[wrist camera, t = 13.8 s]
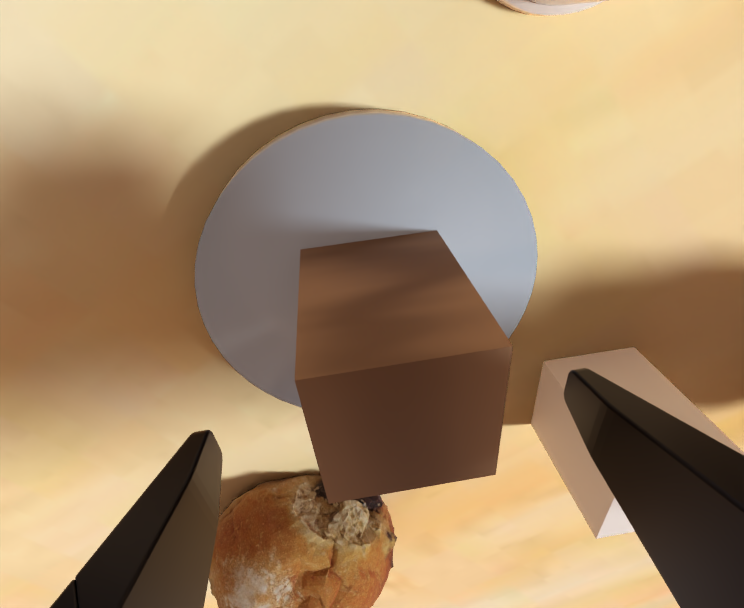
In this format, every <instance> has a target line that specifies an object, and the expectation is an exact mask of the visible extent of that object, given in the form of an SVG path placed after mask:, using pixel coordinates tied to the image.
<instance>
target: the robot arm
mask: <svg viewBox="0 0 744 608" xmlns="http://www.w3.org/2000/svg"><path fill="white" fill-rule="evenodd" d="M564 400H565V402H566V405H567V407H568V409H569V411H570V413H571V416H572V418H573V420H574V422H575V424H576V426H577V429H578V431H579V433H580V435H581V437H582V439H583V442H584V444H585V446H586V448H587V450H588V452H589V454H590V456H591V458H592V460H593V461H594V463H595V465H596V467H597V468H598V470H599V472H600V473H601V475H602V477H603V478H604V480H605V482H606V483H607V485H608V487H609V488H610V490H611V492H612V494H613V495H614V497H615V499H616V500H617V502H618V504H619V505H620V507H621V509H622V510H623V512H624V514H625V515H626V517H627V519H628V520H629V522H630V524H631V525H632V527H633V529H634V531H635V532H636V534H637V536H638V537H639V539H640V541H641V542H642V544H643V546H644V547H645V549H646V551H647V552H648V554H649V556H650V557H651V559H652V561H653V562H654V564H655V566H656V568H657V569H658V571H659V573H660V574H661V576H662V578H663V579H664V581H665V583H666V584H667V586H668V588H669V589H670V591H671V593H672V594H673V596H674V598H675V599H676V601H677V603H678V604H679V606H680V608H744V455H742V454H741V453H739V452H737V451H735V450H733V449H732V448H730V447H728V446H726V445H724V444H723V443H721V442H719V441H717V440H715V439H714V438H712V437H710V436H708V435H707V434H705V433H703V432H701V431H699V430H698V429H696V428H694V427H692V426H690V425H689V424H687V423H685V422H683V421H681V420H680V419H678V418H676V417H674V416H672V415H671V414H669V413H667V412H665V411H664V410H662V409H660V408H658V407H656V406H655V405H653V404H651V403H649V402H647V401H646V400H644V399H642V398H640V397H638V396H637V395H635V394H633V393H631V392H629V391H628V390H626V389H624V388H622V387H620V386H619V385H617V384H615V383H613V382H612V381H610V380H608V379H606V378H604V377H603V376H601V375H599V374H597V373H595V372H594V371H592V370H590V369H587V368H580V369H574V370H571V371H570V372H569V373H568V377H567V381H566V385H565V389H564ZM221 474H222V452H221V449H220V447H219V445H218V443H217V441H216V439H215V437H214V435H213V433H212V432H211V431H210V430H204V431H198V432H194V433H192V434H191V435H190V436H189V437H188V439H187V440H186V441H185V442H184V443H183V445H182V446H181V447H180V448H179V450H178V451H177V452H176V453H175V455H174V456H173V457H172V458H171V459H170V461H169V462H168V463H167V464H166V466H165V467H164V468H163V469H162V471H161V472H160V473H159V474H158V475H157V477H156V478H155V479H154V480H153V482H152V483H151V484H150V485H149V487H148V488H147V489H146V490H145V491H144V493H143V494H142V495H141V496H140V498H139V499H138V500H137V501H136V503H135V504H134V505H133V506H132V507H131V509H130V510H129V511H128V512H127V514H126V515H125V516H124V517H123V519H122V520H121V521H120V522H119V524H118V525H117V526H116V527H115V528H114V530H113V531H112V532H111V533H110V535H109V536H108V537H107V538H106V540H105V541H104V542H103V543H102V544H101V546H100V547H99V548H98V549H97V551H96V552H95V553H94V554H93V556H92V557H91V558H90V559H89V560H88V562H87V563H86V564H85V565H84V567H83V568H82V569H81V570H80V572H79V573H78V574H77V575H76V577H75V580H72V581H71V582H70V584H69V585H68V586H67V587H66V589H65V590H64V591H63V592H62V594H61V595H60V596H59V597H58V598H57V600H56V601H55V602H54V603H53V604H52V606H51V607H50V608H203V607H204V602H205V596H206V590H207V585H208V579H209V573H210V568H211V562H212V556H213V550H214V545H215V539H216V533H217V527H218V518H219V505H220V489H221Z"/></svg>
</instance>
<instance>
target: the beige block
mask: <svg viewBox="0 0 744 608" xmlns="http://www.w3.org/2000/svg"><path fill="white" fill-rule="evenodd" d="M580 368H587V369H590V370H592V371H594V372H595V373H597V374H599V375H601V376H603V377H604V378H606V379H608V380H610V381H612V382H613V383H615V384H617V385H619V386H620V387H622V388H624V389H626V390H628V391H629V392H631V393H633V394H635V395H637V396H638V397H640V398H642V399H644V400H646V401H647V402H649V403H651V404H653V405H655V406H656V407H658V408H660V409H662V410H664V411H665V412H667V413H669V414H671V415H672V416H674V417H676V418H678V419H680V420H681V421H683V422H685V423H687V424H689V425H690V426H692V427H694V428H696V429H698V430H699V431H701V432H703V433H705V434H707V435H708V436H710V437H712V438H714V439H715V440H717V441H719V442H721V443H723V444H724V445H726V446H728V447H730V448H732V449H733V450H735V451H737V452H739V453H741V454H742V455H744V452H743V451H742V450H741V449H740V448H739V447H738V446H737V445H735V444H734V443H733V442H732V441H731V440H730V439H729V438H728V437H727V436H726V435H725V434H724V433H723V432H722V431H721V430H720V429H719V428H718V427H717V426H716V425H715V424H714V423H713V422H712V421H711V420H709V419H708V418H707V417H706V416H705V415H704V414H703V413H702V412H701V411H700V410H699V409H698V408H697V407H696V406H695V405H694V404H693V403H692V402H691V401H690V400H689V399H688V398H687V397H686V396H685V395H684V394H682V393H681V392H680V391H679V390H678V389H677V388H676V387H675V386H674V385H673V384H672V383H671V382H670V381H669V380H668V379H667V378H666V377H665V376H664V375H663V374H662V373H661V372H660V371H659V370H658V369H656V368H655V367H654V366H653V365H652V364H651V363H650V362H649V361H648V360H647V359H646V358H645V357H644V356H643V355H642V354H641V353H640V352H639V351H638V350H637V349H636V348H635V347H630V348H624V349H618V350H611V351H605V352H599V353H592V354H586V355H580V356H573V357H567V358H561V359H554V360H548V361H543V366H542V371H541V376H540V381H539V386H538V391H537V396H536V401H535V406H534V411H533V416H532V421H531V425H532V427H533V429H534V430H535V432H536V434H537V436H538V437H539V439H540V441H541V443H542V444H543V446H544V448H545V450H546V451H547V453H548V455H549V457H550V458H551V460H552V462H553V464H554V465H555V467H556V469H557V471H558V472H559V474H560V476H561V478H562V480H563V481H564V483H565V485H566V487H567V488H568V490H569V492H570V494H571V495H572V497H573V499H574V501H575V502H576V504H577V506H578V508H579V509H580V511H581V513H582V515H583V516H584V518H585V520H586V522H587V524H588V525H589V527H590V529H591V531H592V532H593V534H594V536H595V538H596V539H597V538H602V537H608V536H613V535H619V534H624V533H629V532H635V531H634V529H633V527H632V525H631V524H630V522H629V520H628V519H627V517H626V515H625V514H624V512H623V510H622V509H621V507H620V505H619V504H618V502H617V500H616V499H615V497H614V495H613V494H612V492H611V490H610V488H609V487H608V485H607V483H606V482H605V480H604V478H603V477H602V475H601V473H600V472H599V470H598V468H597V467H596V465H595V463H594V461H593V460H592V458H591V456H590V454H589V452H588V450H587V448H586V446H585V444H584V442H583V439H582V437H581V435H580V433H579V431H578V429H577V426H576V424H575V422H574V420H573V418H572V416H571V413H570V411H569V409H568V407H567V405H566V402H565V400H564V389H565V385H566V381H567V377H568V373H569V372H570V371H571V370H574V369H580Z"/></svg>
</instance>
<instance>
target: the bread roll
mask: <svg viewBox="0 0 744 608" xmlns="http://www.w3.org/2000/svg"><path fill="white" fill-rule="evenodd" d="M396 539H397V537H396V536H395V535H394V527H393V525H392V521H391V517H390V514H389V512H388V510H387V506H386V505H385V504H384V502H383V501H382V499H381V497H380V495H376V496H370V497H364V498H359V499H353V500H347V501H342V502H336V503H330V504H329V503H328V499H327V496H326V492H325V488H324V485H323V481H322V478H321V475H301V476H296V477H292V478H288V479H282V480H273V481H267V482H264V483H261V484H258V485H257V487H256V488H254V489H252V490H250V491H248V492H246V493H244V494H243V495H242V496H240V497H238V498H236V499H234V500H232V503H231V504H230V506H229V507H228V508H227V509H226V510H225V511H224V512H223V513H222V514H221V516H220V517H219V519H218V527H217V533H216V539H215V545H214V550H213V556H212V562H211V568H210V573H209V581H210V584H211V590H212V591H211V594H213V595H214V596H215V598H216V600H217V604H218V607H219V608H370V607H371V606H373V604H374V602H375V601H376V600H377V598H378V597H379V595H380V594H381V591H382V589H383V587H384V585H385V582H386V580H387V578H388V574H389V571H390V569H391V568H392V567H393V547H394V545H395V541H396Z"/></svg>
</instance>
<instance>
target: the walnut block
mask: <svg viewBox="0 0 744 608" xmlns="http://www.w3.org/2000/svg"><path fill="white" fill-rule="evenodd" d="M512 349H513V345H512V344H511V342H510V341H509V339H508V338H507V336H506V335H505V333H504V332H503V330H502V329H501V327H500V326H499V324H498V323H497V321H496V320H495V318H494V316H493V315H492V313H491V312H490V310H489V309H488V307H487V306H486V304H485V303H484V301H483V300H482V298H481V297H480V295H479V294H478V292H477V290H476V289H475V287H474V286H473V284H472V283H471V281H470V280H469V278H468V277H467V275H466V274H465V272H464V271H463V269H462V268H461V266H460V265H459V263H458V261H457V260H456V258H455V257H454V255H453V254H452V252H451V251H450V249H449V248H448V246H447V245H446V243H445V242H444V240H443V239H442V237H441V236H440V234H439V232H438V231H437V230H436V231H429V232H422V233H414V234H407V235H400V236H393V237H386V238H379V239H372V240H364V241H357V242H350V243H343V244H336V245H329V246H322V247H315V248H307V249H300V270H299V292H298V315H297V337H296V360H295V384H296V387H297V391H298V395H299V398H300V402H301V405H302V409H303V413H304V416H305V420H306V423H307V427H308V431H309V434H310V438H311V441H312V445H313V449H314V452H315V456H316V460H317V463H318V467H319V470H320V474H321V478H322V481H323V485H324V488H325V492H326V496H327V499H328V503H329V504H330V503H336V502H342V501H347V500H353V499H359V498H364V497H370V496H376V495H382V494H387V493H393V492H399V491H405V490H410V489H416V488H422V487H427V486H433V485H439V484H445V483H450V482H456V481H462V480H467V479H473V478H479V477H485V476H490V475H496V468H497V460H498V453H499V445H500V438H501V431H502V423H503V416H504V408H505V401H506V394H507V386H508V379H509V371H510V364H511V357H512Z"/></svg>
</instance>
